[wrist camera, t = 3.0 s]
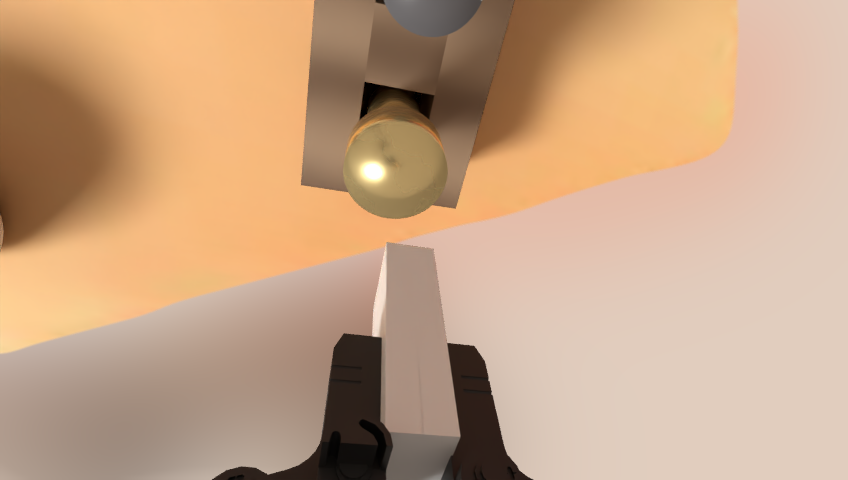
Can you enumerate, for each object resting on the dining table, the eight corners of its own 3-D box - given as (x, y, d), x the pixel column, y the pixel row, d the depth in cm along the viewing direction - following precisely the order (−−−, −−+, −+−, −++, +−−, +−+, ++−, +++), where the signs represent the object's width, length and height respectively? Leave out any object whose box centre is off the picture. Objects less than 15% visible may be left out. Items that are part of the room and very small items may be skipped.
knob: (360, 62, 27) (349, 114, 20) (439, 78, 28) (458, 133, 20) (350, 138, 30) (337, 210, 22) (422, 150, 31) (435, 225, 23)
